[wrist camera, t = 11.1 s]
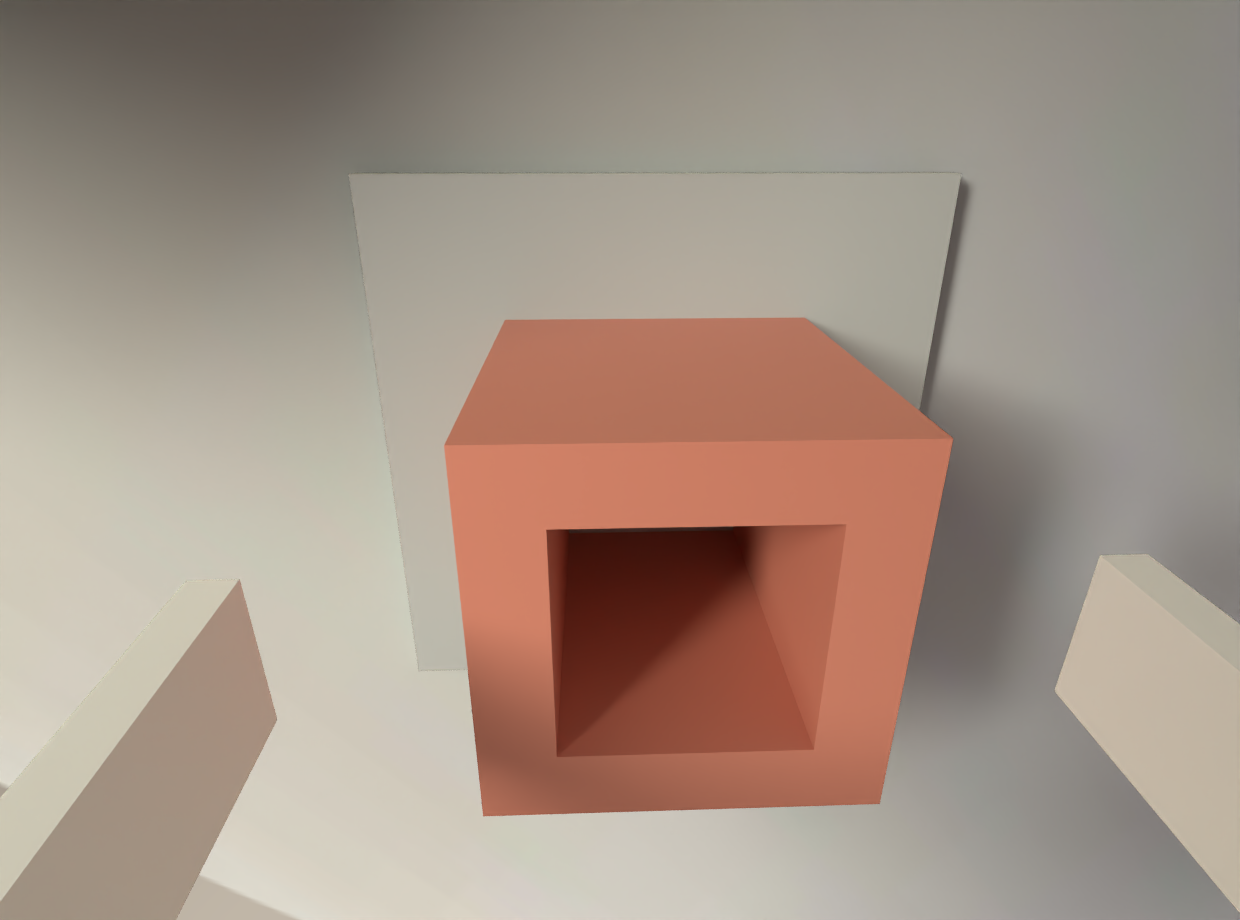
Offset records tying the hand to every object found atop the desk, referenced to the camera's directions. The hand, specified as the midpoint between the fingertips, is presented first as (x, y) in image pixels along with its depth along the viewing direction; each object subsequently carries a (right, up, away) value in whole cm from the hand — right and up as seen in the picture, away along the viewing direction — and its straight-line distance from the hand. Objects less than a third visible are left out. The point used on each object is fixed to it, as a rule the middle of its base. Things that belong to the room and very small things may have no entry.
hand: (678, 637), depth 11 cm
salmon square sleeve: (0, +3, +8) cm, 8 cm away
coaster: (0, +3, +8) cm, 9 cm away
